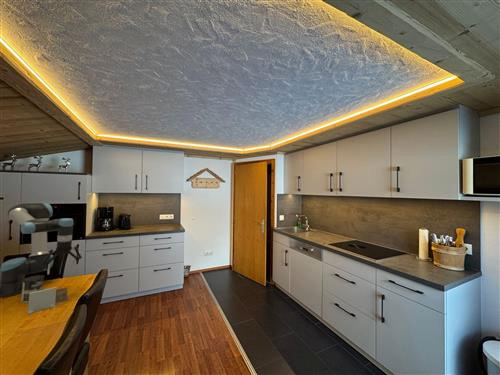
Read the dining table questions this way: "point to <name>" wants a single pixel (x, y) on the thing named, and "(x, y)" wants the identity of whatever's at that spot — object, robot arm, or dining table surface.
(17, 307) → the dining table surface
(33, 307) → the screen
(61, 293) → the brown cube
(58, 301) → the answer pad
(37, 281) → the coffee can
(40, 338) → the dining table surface
